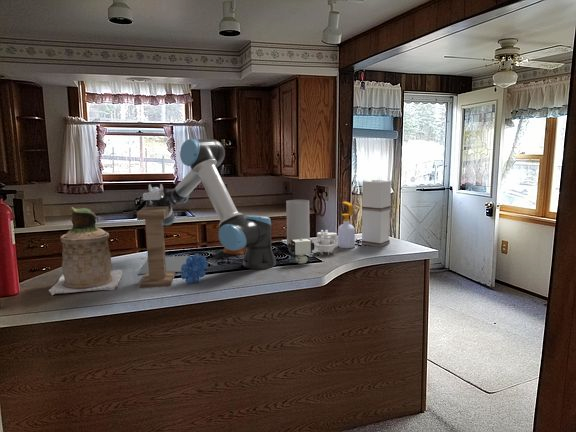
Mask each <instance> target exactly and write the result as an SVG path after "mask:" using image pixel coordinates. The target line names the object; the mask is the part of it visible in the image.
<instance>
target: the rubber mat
mask: <svg viewBox="0 0 576 432" xmlns="http://www.w3.org/2000/svg"><path fill="white" fill-rule="evenodd" d="M188 257H191V256H190V255H175V256H165V259H166V271H175V272H180V273H182V270H181V267H182V265H183V264H187V263H186V259H187V258H188ZM146 272H149V267H148V259H147V260H146V261H145V263H144V264H143V265H142V267H141V268H140V270H139V272H138V273H137V276H145V274H146Z"/></svg>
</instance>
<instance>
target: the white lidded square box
mask: <svg viewBox="0 0 576 432" xmlns="http://www.w3.org/2000/svg"><path fill="white" fill-rule="evenodd" d="M391 187H392V180H380V179H379V180H378V179H377V180H375V179H371V181H368V180H367V181H365V180H363V181H362V192H361V193H362V195H361V196H362V199H361V201H362V207H361V210H362V211H361V213H362V214H361V215H362V216H361V217H362V218H361V219H362V221H361V225H362V226H361V245H364V246H372V247H379V248H381V247H384V246H387V245H388V244H390V243H391V240H390V236H389V235H390V213H391V196H392V193H391V191H392V188H391Z"/></svg>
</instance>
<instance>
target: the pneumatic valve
mask: <svg viewBox="0 0 576 432" xmlns="http://www.w3.org/2000/svg"><path fill="white" fill-rule="evenodd" d="M287 248H288V252H289V253H290V254H292V255H293V256H295V263H297V264H299V265H300V264H307V262H308V257H307V256H306V255H308V254H309V255H310V254H313V251H314V250H315V248H316V247H315V242H314V241H313V240H311V238H310V239H302V238H300V239H297V240H291V242H290V243H289V244H288V246H287Z"/></svg>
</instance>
